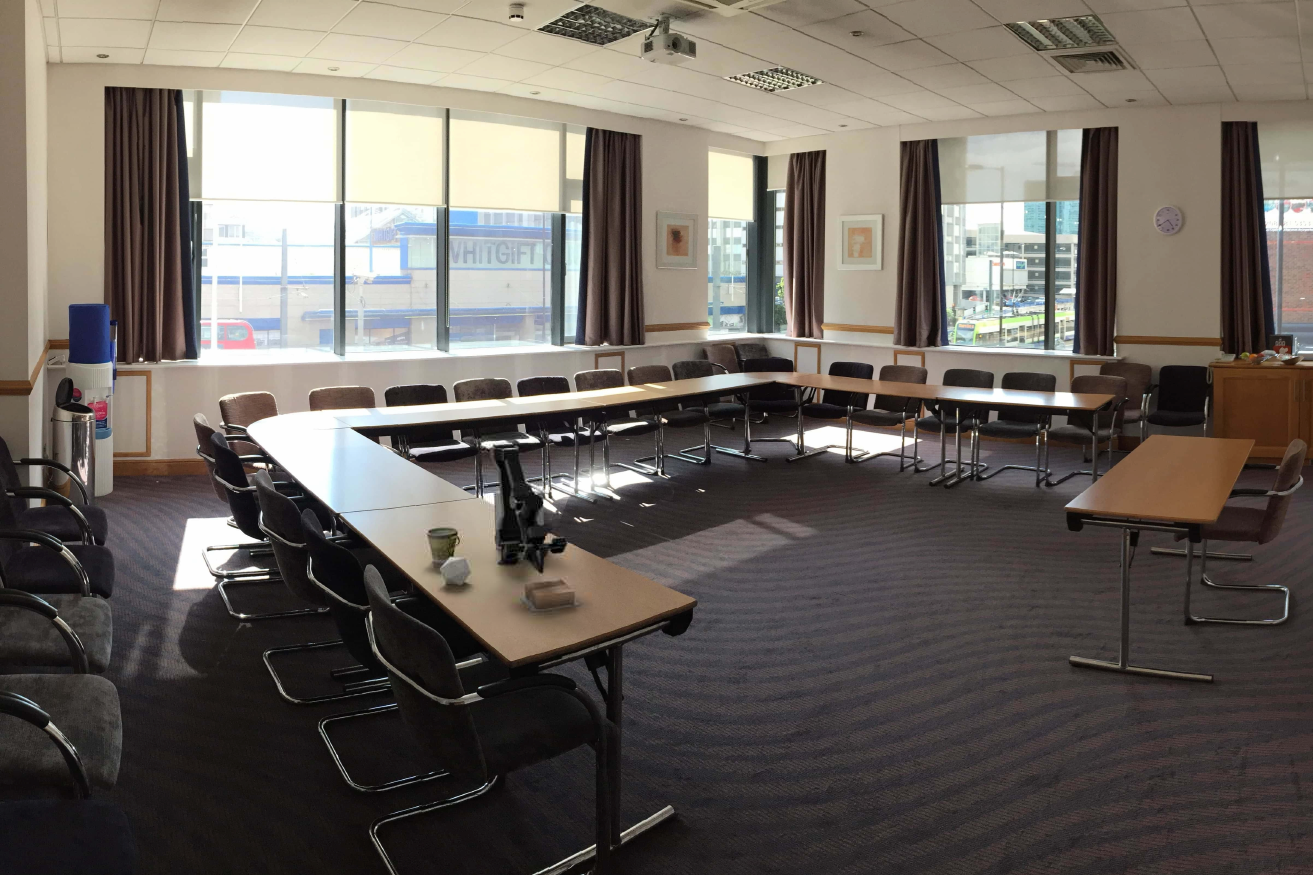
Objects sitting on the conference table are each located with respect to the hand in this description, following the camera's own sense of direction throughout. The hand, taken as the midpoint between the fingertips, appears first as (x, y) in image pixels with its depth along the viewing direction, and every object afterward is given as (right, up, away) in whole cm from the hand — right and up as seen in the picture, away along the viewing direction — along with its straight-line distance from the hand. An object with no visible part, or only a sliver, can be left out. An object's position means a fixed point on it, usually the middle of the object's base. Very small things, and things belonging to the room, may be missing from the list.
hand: (541, 572), depth 275 cm
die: (-28, -5, +11) cm, 30 cm away
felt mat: (+3, -8, -6) cm, 10 cm away
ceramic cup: (-36, -1, +34) cm, 49 cm away
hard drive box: (-14, +1, +50) cm, 51 cm away
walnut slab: (0, -4, 0) cm, 4 cm away
